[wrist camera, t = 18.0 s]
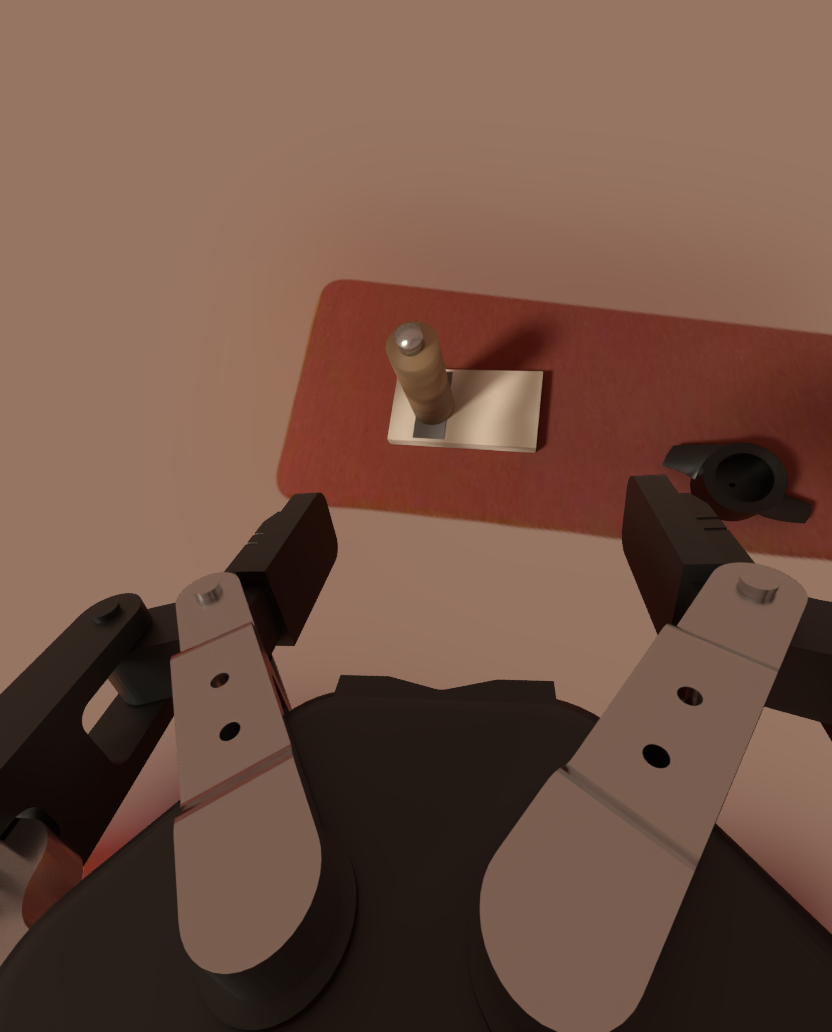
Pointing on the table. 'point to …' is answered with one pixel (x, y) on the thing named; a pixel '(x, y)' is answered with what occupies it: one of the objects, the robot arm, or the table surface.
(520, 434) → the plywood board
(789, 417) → the table surface
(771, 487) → the black winged cup
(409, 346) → the wooden pepper mill
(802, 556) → the table surface
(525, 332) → the table surface
